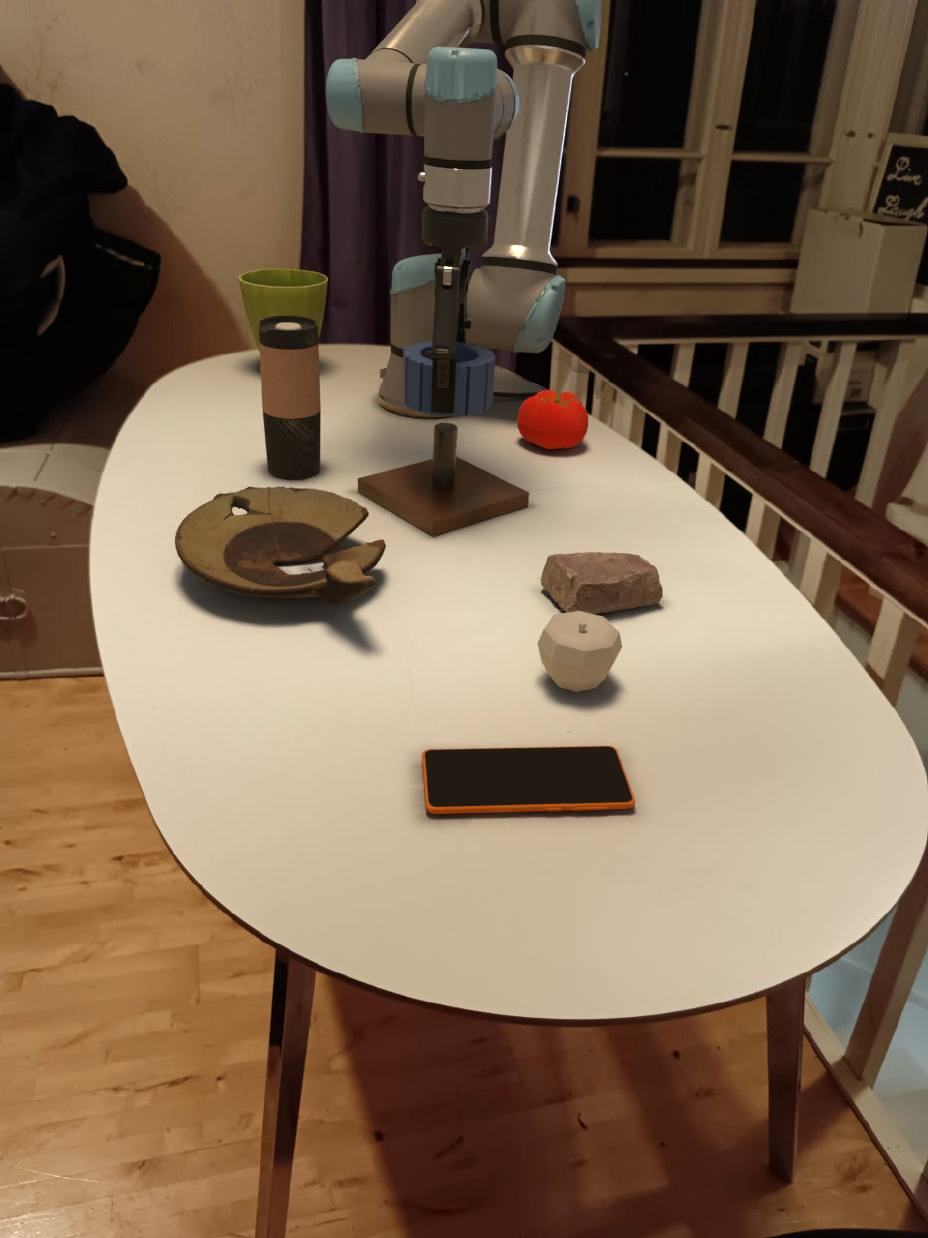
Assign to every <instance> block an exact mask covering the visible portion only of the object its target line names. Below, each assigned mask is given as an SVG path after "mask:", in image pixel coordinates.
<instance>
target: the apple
mask: <svg viewBox="0 0 928 1238" xmlns="http://www.w3.org/2000/svg"><path fill="white" fill-rule="evenodd" d="M537 647H538V653H539V656H540V657H539V658H540V661H541V663H542V665H543V667H544V669H545V671H546V673H547V675H549V677H550V678H551V680H552V681H553V682H554V684H556V686H557V687H559V688H560V689H564V690H566V691H571V692H574V693H579V692H584V691H585V692H586V691H590V690H593V689H595V688H597V687H598V686H599V685H600V684H601V683H602V682H603V681H604V680H605V679H606V678H607V676H608V674H609V673H610V671H611V669H612V668H613V665H614V663H615V662H616V660H617V658H618V656H619V654H620V652H621V650H622V648H623V644H622V637H621V633H620V631H619V630H618V629H617V628H616V626H613V624H612V623H611V622H610V621H609V620H608V619H607V618H606V617H605V616H601V615H598V614H596V615H594V614H590V613H586V612H582V611H574V612H568V613H567V612H563V613H557V614H554V615H552V616H551V618H550V619H549V621H548V622H547V624H546V625H545V627H544V628H543V630H542V632H541V634H540V637H539V638H538V641H537Z"/></svg>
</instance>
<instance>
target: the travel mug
mask: <svg viewBox="0 0 928 1238" xmlns="http://www.w3.org/2000/svg"><path fill="white" fill-rule="evenodd" d="M258 327H259V346H260V352H259V363H260V387H261V407H262V408H261V409H262V419H263V420H262V421H263V431H264V442H265V443H264V444H265V453H266V464H267V471H268V473H269V474H270V475H272V476H273V477H275V478H278V479H282V480H295V481H296V480H304V479H309V478H312V477H315V476H316V475H318V474H319V473H320V471H321V434H322V433H321V431H322V430H321V425H322V423H321V422H322V421H321V418H322V417H321V416H322V411H321V408H322V406H321V405H322V404H321V379H320V349H319V348H320V347H319V340H318V324H317V322H316V321H315V320H313V319H311V318H307V317H302V316H290V315H283V316H272V317H267V318H264V319H261V320H260V321H259V323H258Z"/></svg>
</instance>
